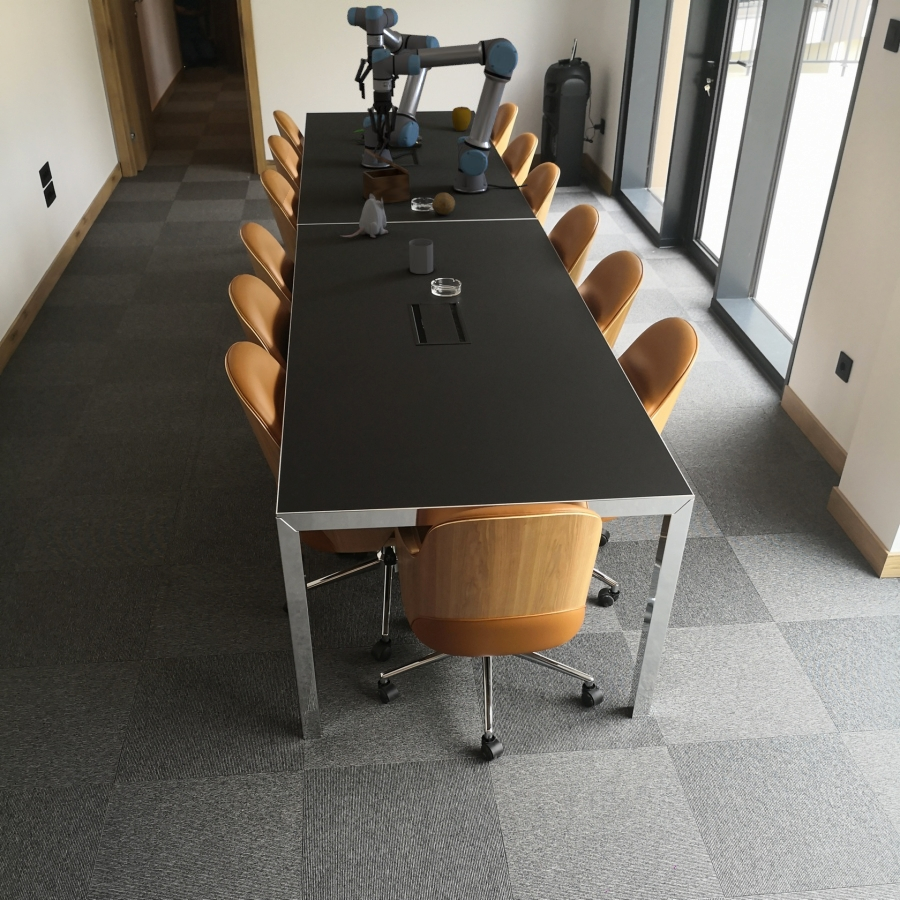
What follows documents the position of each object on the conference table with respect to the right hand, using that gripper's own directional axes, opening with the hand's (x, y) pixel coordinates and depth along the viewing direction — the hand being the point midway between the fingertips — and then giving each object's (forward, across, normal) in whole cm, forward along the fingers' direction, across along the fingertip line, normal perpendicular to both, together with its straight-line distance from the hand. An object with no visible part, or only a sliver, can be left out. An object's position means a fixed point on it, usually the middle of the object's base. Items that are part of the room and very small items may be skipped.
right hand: (384, 149), depth 369 cm
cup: (+21, -19, -86) cm, 90 cm away
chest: (+21, 0, 0) cm, 21 cm away
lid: (+6, +1, 0) cm, 6 cm away
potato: (+21, +15, -30) cm, 39 cm away
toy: (+21, -26, -45) cm, 56 cm away
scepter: (+21, +34, +98) cm, 106 cm away
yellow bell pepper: (+21, +86, +105) cm, 137 cm away
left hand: (-15, +9, +32) cm, 36 cm away
